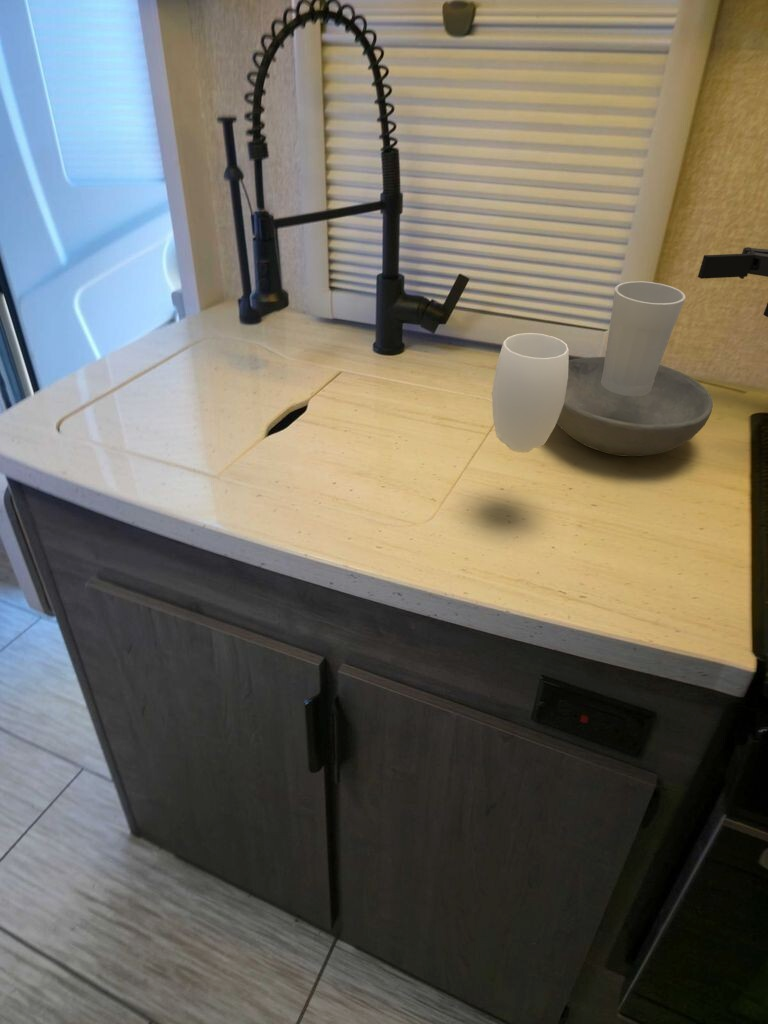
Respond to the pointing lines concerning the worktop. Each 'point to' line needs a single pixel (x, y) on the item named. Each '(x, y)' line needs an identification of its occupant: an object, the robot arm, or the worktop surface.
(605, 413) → the bowl
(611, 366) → the cup
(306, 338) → the worktop surface
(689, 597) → the worktop surface
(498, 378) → the cup
